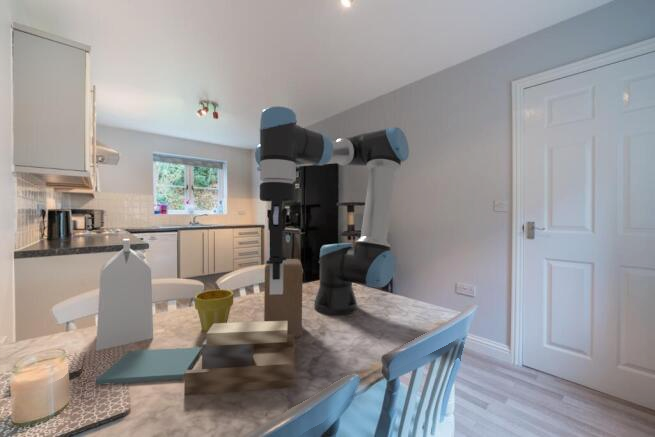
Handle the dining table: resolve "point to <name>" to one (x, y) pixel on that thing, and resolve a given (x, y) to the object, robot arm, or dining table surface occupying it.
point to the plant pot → (213, 307)
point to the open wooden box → (242, 368)
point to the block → (286, 297)
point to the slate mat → (151, 365)
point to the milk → (125, 300)
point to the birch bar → (247, 333)
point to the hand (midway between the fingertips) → (276, 292)
